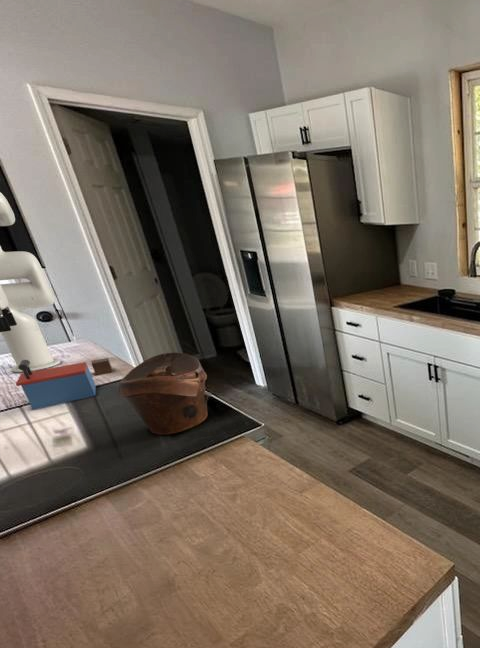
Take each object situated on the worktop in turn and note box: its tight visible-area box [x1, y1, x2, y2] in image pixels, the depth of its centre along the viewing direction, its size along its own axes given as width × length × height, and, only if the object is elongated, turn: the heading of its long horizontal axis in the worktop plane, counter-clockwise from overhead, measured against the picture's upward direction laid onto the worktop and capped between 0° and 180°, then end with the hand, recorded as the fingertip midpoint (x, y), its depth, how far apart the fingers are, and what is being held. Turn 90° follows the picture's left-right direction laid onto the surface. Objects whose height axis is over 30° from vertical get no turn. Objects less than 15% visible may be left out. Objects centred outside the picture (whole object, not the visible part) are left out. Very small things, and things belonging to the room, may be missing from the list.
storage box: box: [21, 364, 97, 410], centre depth 129 cm, size 14×12×8 cm
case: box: [118, 352, 213, 436], centre depth 108 cm, size 18×20×18 cm
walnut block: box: [90, 357, 114, 376], centre depth 150 cm, size 4×4×4 cm
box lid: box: [15, 360, 88, 387], centre depth 126 cm, size 14×12×5 cm
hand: (6, 328), depth 121 cm, fingers open, 9 cm apart
